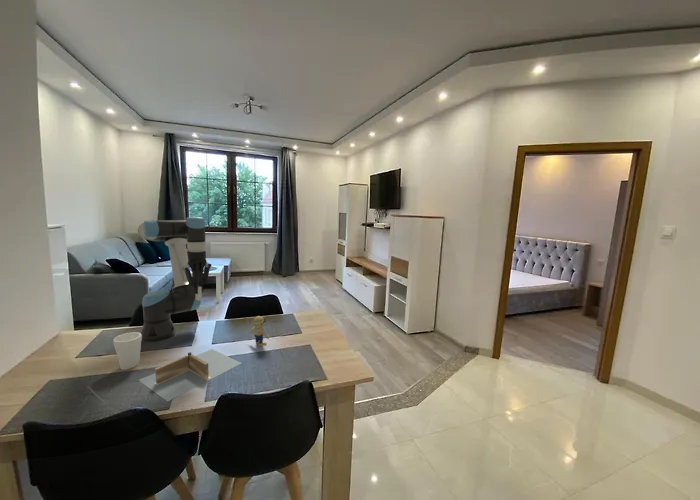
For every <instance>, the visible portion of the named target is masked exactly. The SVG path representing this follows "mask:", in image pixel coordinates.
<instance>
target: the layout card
mask: <svg viewBox="0 0 700 500" xmlns="http://www.w3.org/2000/svg"><path fill="white" fill-rule="evenodd" d="M195 356H196V357H198V358H199V359H201V360H203V361H205V362H207V363H208V371H209V377H208V378H204V377H202V376H201V375H199V374H197V373H196V372H194V371H192V370H191V369H190V368H189V370H187V371H185V372H183V373H181V374H178V375H176V376H174V377H172V378H170V379H167V380H165V381H163V382H161V383H159V384H157V383H156V374H155V372H154V373H151V374H150V375H147V376H145V377H142V378H140V379H138V382H140V383H141V384H142V385H144V386H145V387H146V388H148V389H150V390H151V391H152V392H154V393H155V394H157V395H158V396H159V397H160V398H162V399H163V400H165V401H166V402H170V401H172V400H174V399H176V398H177V397H179V396H182V395H183V394H186V393H187V392H189V391H191V390H193V389H195V388H197V387H199V386H200V385H201V386H202V385H203V384H204V383H207V382H208V381H210V380H212V379H215V378H216V377H218V376H220V375H221V374H224V373H225V372H228V371H231V370H232V369H233V368H235V367H238V366H239V365H241V364H242V362H240V361H238V360H236V359H235V358H231V356H227V355H225V354H223V353H221V352H219V351H217V350H215V349H213V348H211V349H208V350H206V351H204V352H201V353H199V354H197V355H195ZM188 365H189V364H188Z"/></svg>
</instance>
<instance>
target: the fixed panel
mask: <svg viewBox="0 0 700 500" xmlns="http://www.w3.org/2000/svg"><path fill="white" fill-rule="evenodd" d="M154 370H155V372H154V373H155V374H156V383H157V384H159V383H161V382H163V381H165V380H167V379H170V378H172V377H174V376H176V375H178V374H181V373H183V372H185V371H187V370H189V365H188V355H184V356H183V357H180V358H177V359H175V360H172V361H170V362H168V363H165V364H162V365H160V366H158V367H155V369H154Z"/></svg>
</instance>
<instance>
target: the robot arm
mask: <svg viewBox="0 0 700 500" xmlns="http://www.w3.org/2000/svg"><path fill="white" fill-rule="evenodd" d="M137 233H138V235H139V237H141V238H142V239H144V240H146V241H152V242H164V245H165V246H166V247H168V251H169V258H170V259H169V260H170V264H171V268H172V275H173V276H172V278H173V282H174V283H173V284H174V286H172V288H171V289H172V290H171V291H170V290H168V289H159V290H158V289H157V290H154V291H151V292H148V293H146V294H144V296H143V297H142V305H141V306H142V312H143V313H142V314H143V326H142V327H141V332H140V333H141V334H142V340H141V341H143V342H159V341H163V340H166V339H169V338H171V337H173V336H174V335H175V334H176V327H175V326H174V323H173V321H172V320H171V319H172V318H171V315H174V314H178V313H185V312H191V311H194V310H197V309H199V308H200V306H201V302H202V301H203V297H202V295H203V293H204V287H205V285H207V284H208V281H209V275H210V269H211V267H212V263H208V262H207V251H206V249H207V246H206V222H205V218H204V217H201V216H200V217H199V216H188V217H186V219H185V220H184V219H182V220H181V219H179V220H178V219H177V220H171V219H170V220H169V219H168V220H167V219H166V220H164V219H163V220H162V219H161V220H160V219H159V220H155V219H151V220H149V219H148V220H144V221H143V222H142V223H141V224H139V225H138V228H137ZM191 273H192V274H191Z"/></svg>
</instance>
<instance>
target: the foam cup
mask: <svg viewBox="0 0 700 500" xmlns="http://www.w3.org/2000/svg"><path fill="white" fill-rule="evenodd" d="M142 341H143V340H142V334H141V332H137V331H136V332H135V331H134V332H133V331H132V332H126V333H122V334H119V335H117V336H115V337H114V338H113V339H112V342H113V346H114V349H115V353H116V357H117V360H118V364H119V367H120V369H121V370H123V371H127V370H129V369H133V368H134V367H137V366H139V365H140V357H141V348H142Z"/></svg>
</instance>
